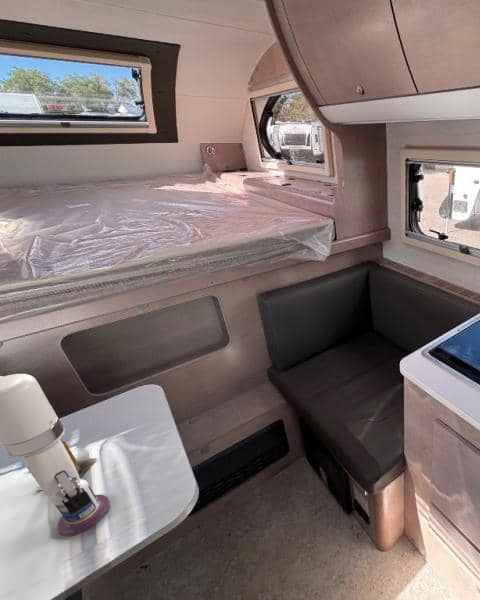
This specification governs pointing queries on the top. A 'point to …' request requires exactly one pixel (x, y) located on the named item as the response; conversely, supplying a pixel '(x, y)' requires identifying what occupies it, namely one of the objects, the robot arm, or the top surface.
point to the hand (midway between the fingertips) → (72, 495)
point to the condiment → (78, 462)
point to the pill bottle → (83, 512)
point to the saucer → (75, 529)
